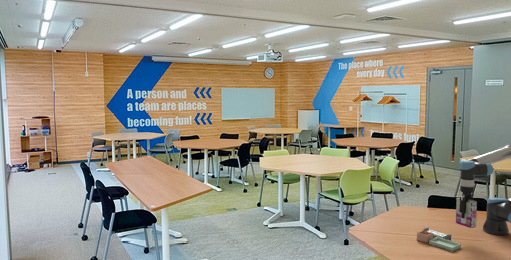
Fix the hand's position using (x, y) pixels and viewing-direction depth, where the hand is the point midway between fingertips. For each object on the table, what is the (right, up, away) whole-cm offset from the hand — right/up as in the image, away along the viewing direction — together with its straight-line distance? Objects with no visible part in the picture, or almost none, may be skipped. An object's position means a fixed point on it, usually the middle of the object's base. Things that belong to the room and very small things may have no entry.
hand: (465, 221), depth 246 cm
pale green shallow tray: (-16, -13, -6) cm, 22 cm away
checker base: (-15, -12, +8) cm, 21 cm away
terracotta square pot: (-25, -13, +3) cm, 28 cm away
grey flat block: (-15, -10, +8) cm, 20 cm away
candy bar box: (0, -2, 0) cm, 2 cm away
